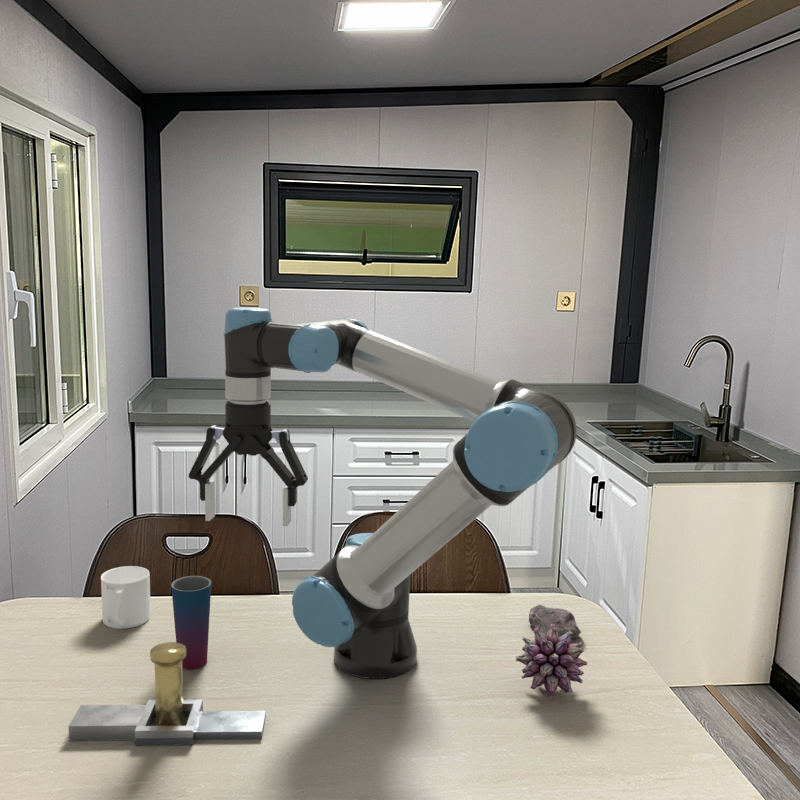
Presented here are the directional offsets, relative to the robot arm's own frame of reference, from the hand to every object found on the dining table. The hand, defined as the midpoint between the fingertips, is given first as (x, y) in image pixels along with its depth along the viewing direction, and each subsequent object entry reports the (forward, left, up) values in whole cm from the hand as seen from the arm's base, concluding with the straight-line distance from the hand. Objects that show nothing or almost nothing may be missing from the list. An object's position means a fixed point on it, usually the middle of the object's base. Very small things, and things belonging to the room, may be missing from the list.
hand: (248, 521), depth 137 cm
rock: (-56, -22, -27) cm, 66 cm away
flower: (-53, +1, -27) cm, 59 cm away
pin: (+6, +21, -27) cm, 35 cm away
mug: (+29, -12, -27) cm, 41 cm away
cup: (+10, +1, -27) cm, 29 cm away
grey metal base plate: (+6, +21, -27) cm, 34 cm away
